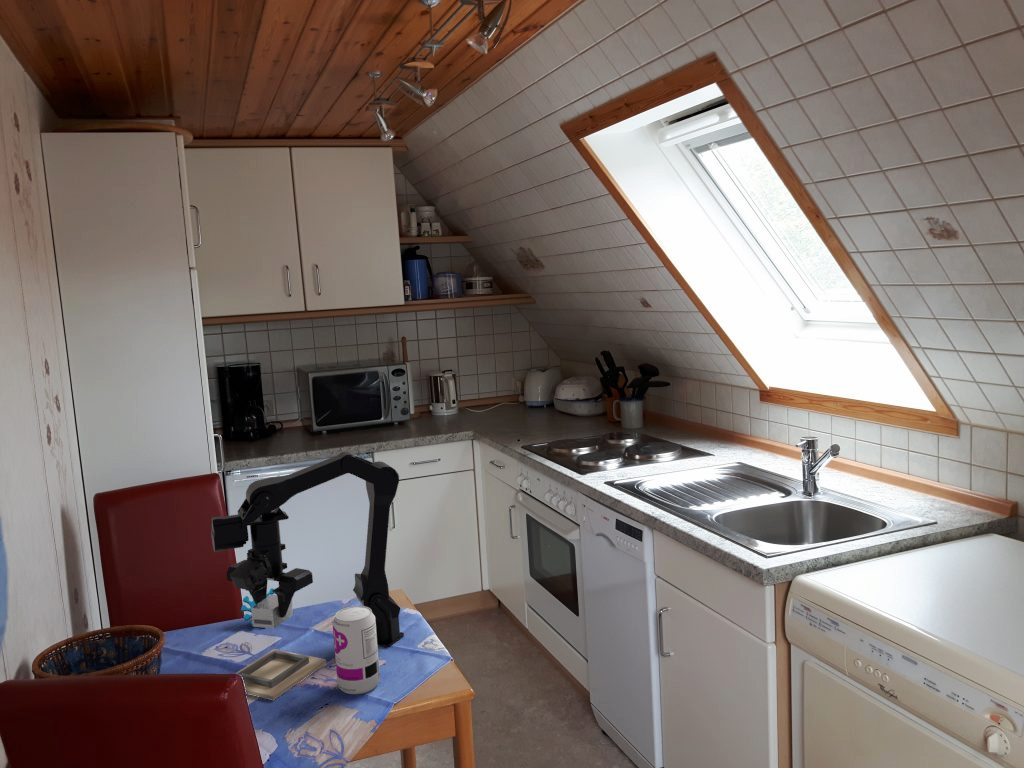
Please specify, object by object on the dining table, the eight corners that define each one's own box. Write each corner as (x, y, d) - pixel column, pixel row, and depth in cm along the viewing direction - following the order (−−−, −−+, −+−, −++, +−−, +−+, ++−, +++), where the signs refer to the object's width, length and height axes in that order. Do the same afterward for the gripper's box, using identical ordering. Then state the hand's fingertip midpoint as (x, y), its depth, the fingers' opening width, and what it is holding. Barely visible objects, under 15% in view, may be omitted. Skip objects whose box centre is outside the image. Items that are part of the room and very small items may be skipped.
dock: (326, 663, 173) (325, 654, 173) (273, 701, 159) (272, 690, 159) (274, 653, 179) (273, 643, 179) (219, 688, 165) (218, 677, 165)
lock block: (293, 614, 175) (291, 596, 175) (273, 628, 168) (272, 610, 168) (272, 612, 177) (271, 594, 176) (252, 626, 170) (250, 608, 169)
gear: (241, 626, 190) (241, 586, 196) (239, 637, 194) (238, 597, 200) (291, 623, 194) (289, 584, 200) (288, 633, 198) (285, 595, 204)
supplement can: (345, 700, 158) (338, 625, 156) (333, 682, 165) (327, 610, 163) (385, 688, 162) (380, 615, 160) (372, 671, 169) (367, 601, 167)
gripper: (202, 549, 167) (210, 623, 169) (272, 561, 159) (279, 638, 161) (243, 533, 177) (250, 602, 179) (311, 542, 168) (317, 615, 171)
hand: (272, 614), depth 172 cm, fingers closed on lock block, 5 cm apart
